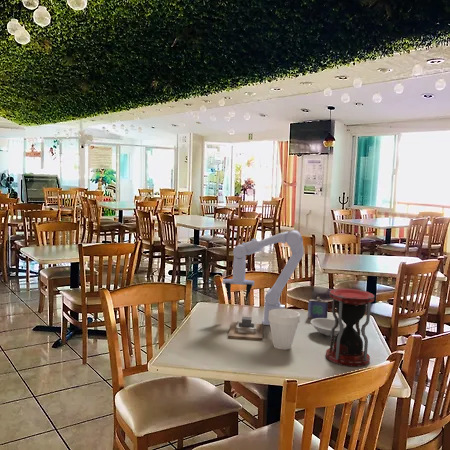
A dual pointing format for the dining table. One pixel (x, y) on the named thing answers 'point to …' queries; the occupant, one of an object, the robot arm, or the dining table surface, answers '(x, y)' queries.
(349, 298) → the hourglass
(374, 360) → the dining table surface
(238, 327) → the dock
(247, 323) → the grey matte cube
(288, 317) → the cup
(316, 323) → the dish
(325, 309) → the flask
